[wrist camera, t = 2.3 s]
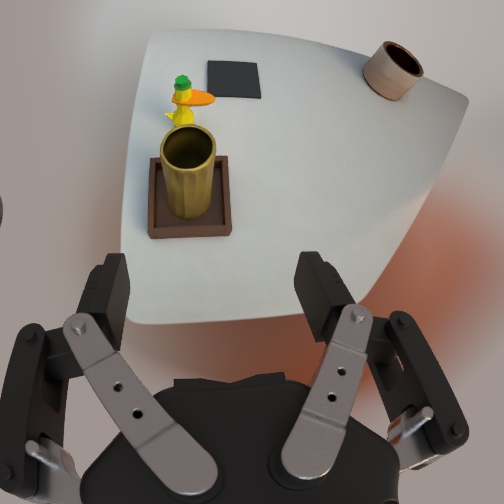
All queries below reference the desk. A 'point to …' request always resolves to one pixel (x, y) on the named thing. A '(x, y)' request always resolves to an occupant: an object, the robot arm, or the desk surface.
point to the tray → (206, 225)
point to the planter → (392, 71)
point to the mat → (233, 79)
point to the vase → (188, 169)
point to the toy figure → (187, 101)
